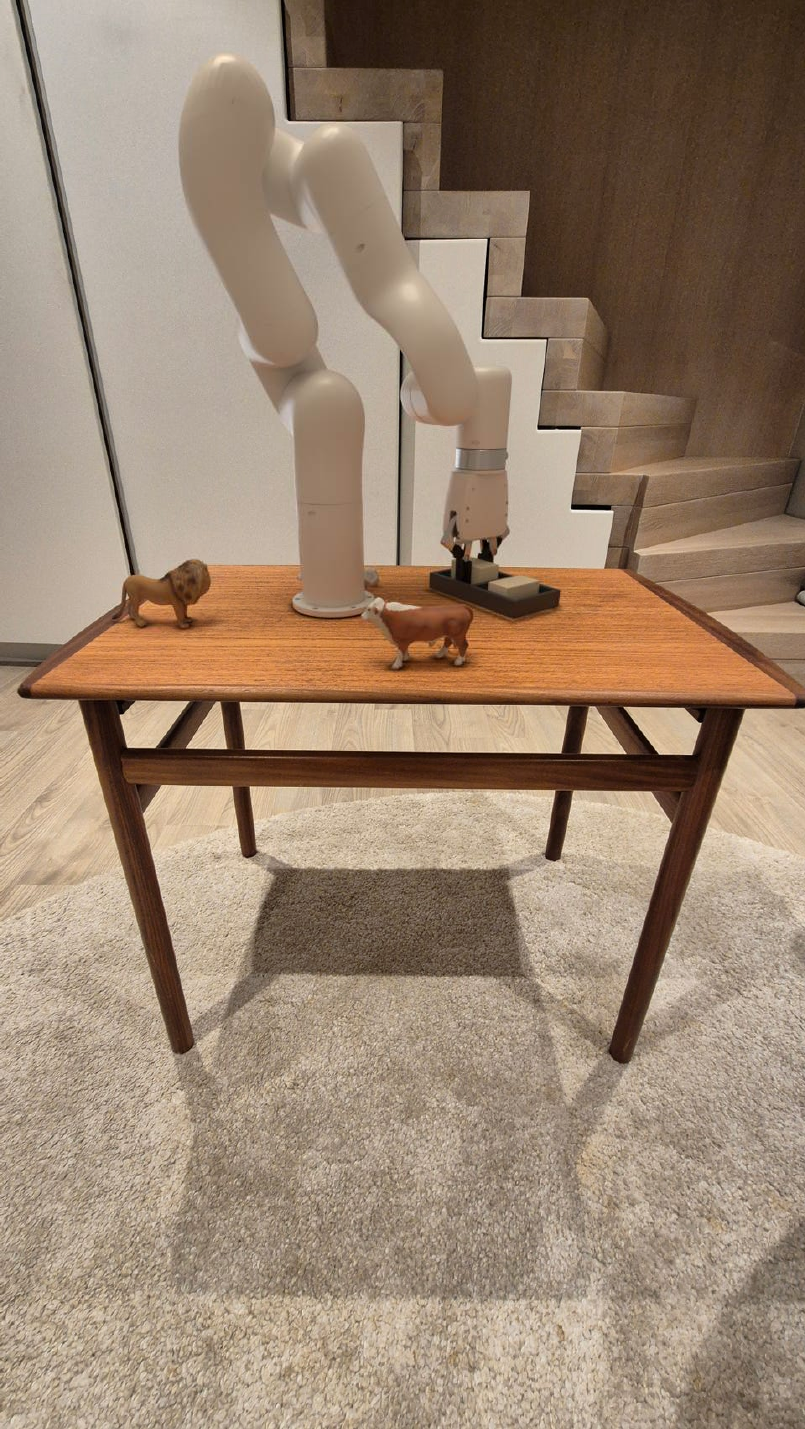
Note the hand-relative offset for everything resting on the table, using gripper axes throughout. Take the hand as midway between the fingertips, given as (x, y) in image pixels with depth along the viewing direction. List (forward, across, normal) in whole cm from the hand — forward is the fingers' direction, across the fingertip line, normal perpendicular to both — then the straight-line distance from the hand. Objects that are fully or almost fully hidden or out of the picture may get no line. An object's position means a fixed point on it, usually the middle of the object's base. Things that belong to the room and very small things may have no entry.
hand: (473, 580), depth 98 cm
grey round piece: (+2, +12, -12) cm, 18 cm away
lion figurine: (+2, +45, -15) cm, 48 cm away
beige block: (+1, 0, +9) cm, 9 cm away
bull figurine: (+2, +26, +18) cm, 31 cm away
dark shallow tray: (+2, 0, +4) cm, 5 cm away
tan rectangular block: (0, 0, 0) cm, 0 cm away
